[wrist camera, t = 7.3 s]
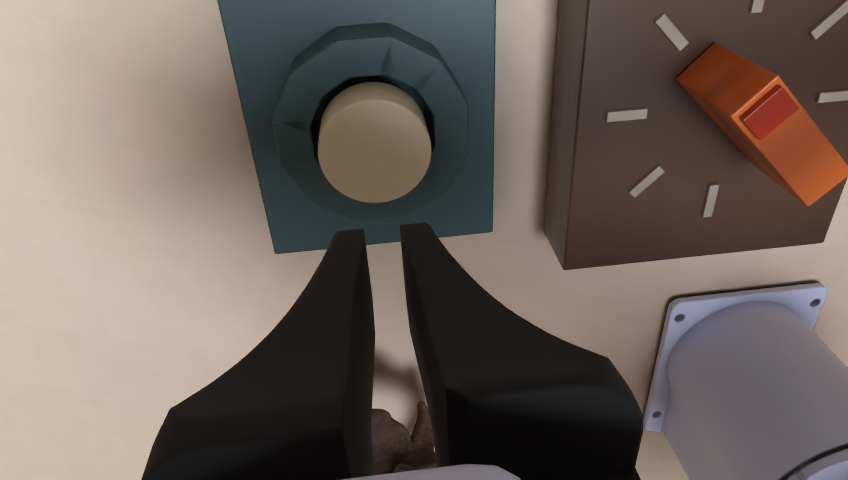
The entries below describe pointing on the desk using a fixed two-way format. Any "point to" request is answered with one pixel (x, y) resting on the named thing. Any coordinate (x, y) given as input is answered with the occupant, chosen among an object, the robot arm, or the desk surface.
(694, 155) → the dial board
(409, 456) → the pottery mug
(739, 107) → the dial knob
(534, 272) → the desk surface
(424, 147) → the button
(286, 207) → the button block
